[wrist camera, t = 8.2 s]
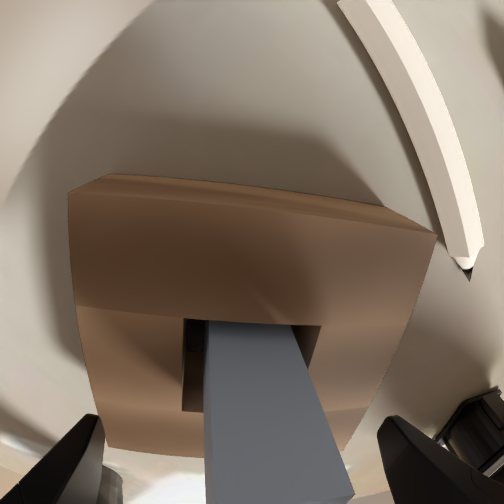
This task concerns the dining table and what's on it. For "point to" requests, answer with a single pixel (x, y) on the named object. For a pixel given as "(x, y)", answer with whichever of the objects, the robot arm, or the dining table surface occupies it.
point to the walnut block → (232, 295)
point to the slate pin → (265, 421)
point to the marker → (422, 122)
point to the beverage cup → (110, 488)
